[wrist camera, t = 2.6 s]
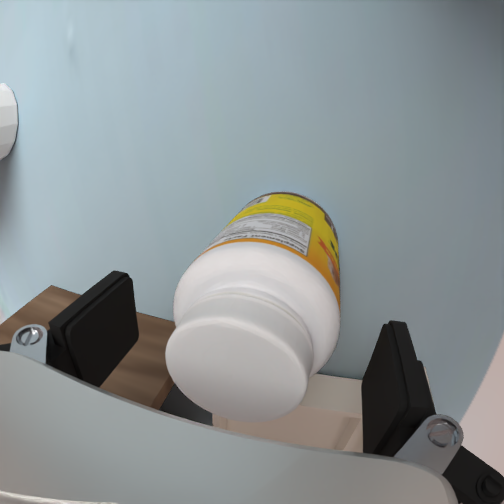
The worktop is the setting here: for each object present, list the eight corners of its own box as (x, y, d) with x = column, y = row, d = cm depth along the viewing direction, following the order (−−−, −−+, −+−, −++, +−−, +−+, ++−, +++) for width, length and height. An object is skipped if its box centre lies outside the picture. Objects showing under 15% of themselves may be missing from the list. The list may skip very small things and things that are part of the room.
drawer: (226, 336, 20) (150, 487, 10) (425, 366, 18) (450, 523, 8) (223, 442, 26) (183, 543, 16) (364, 464, 24) (354, 570, 14)
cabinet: (51, 285, 23) (-56, 373, 12) (198, 327, 21) (97, 492, 9) (86, 390, 29) (21, 473, 18) (204, 435, 27) (153, 548, 15)
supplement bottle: (321, 296, 18) (301, 454, 9) (228, 270, 19) (142, 403, 10) (351, 203, 15) (375, 329, 6) (244, 176, 16) (134, 260, 7)
